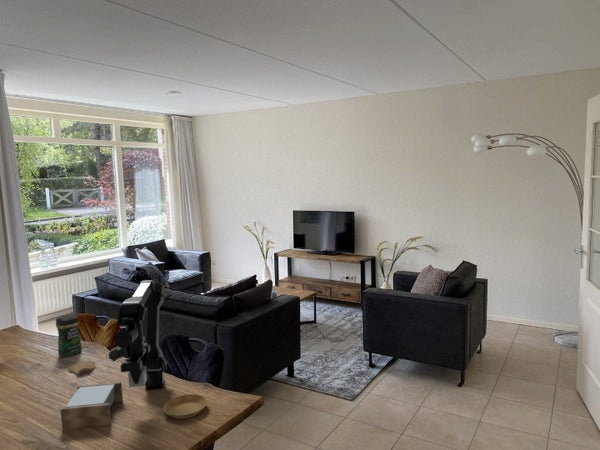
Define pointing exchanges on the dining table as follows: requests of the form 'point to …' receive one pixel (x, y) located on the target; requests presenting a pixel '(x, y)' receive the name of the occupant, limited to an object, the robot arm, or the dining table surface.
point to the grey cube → (141, 381)
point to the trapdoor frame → (90, 411)
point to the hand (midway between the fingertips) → (138, 380)
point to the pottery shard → (82, 367)
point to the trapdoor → (93, 396)
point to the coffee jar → (68, 335)
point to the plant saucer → (185, 406)
